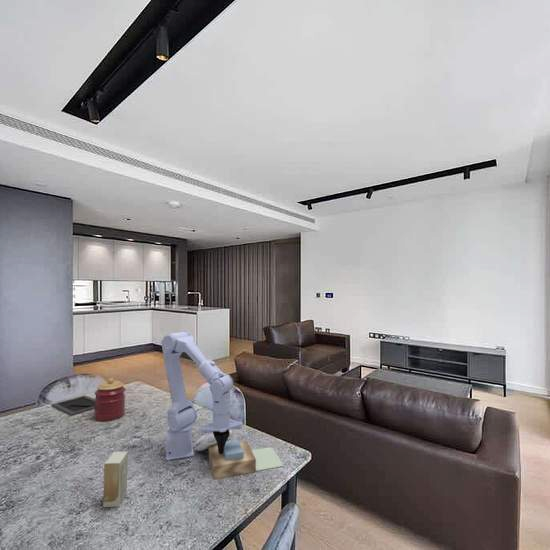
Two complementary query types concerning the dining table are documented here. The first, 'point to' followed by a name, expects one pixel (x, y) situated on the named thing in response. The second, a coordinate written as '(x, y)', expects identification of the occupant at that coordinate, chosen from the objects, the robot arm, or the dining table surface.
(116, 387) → the canister
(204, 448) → the photo printer
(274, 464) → the mat
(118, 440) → the dining table surface
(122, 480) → the skincare box
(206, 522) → the dining table surface
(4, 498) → the dining table surface
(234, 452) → the blue box
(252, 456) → the light brown flat block
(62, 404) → the picture frame
